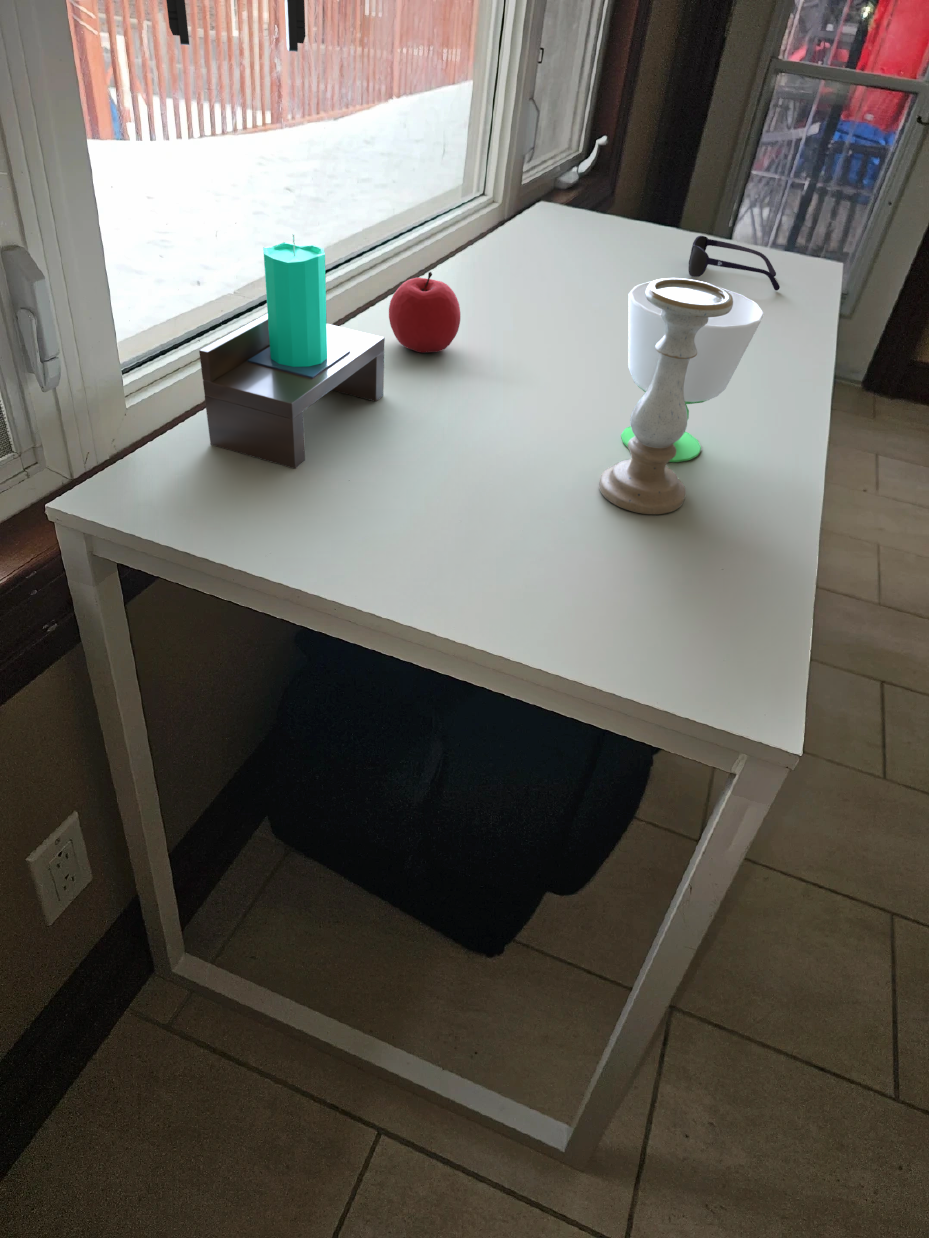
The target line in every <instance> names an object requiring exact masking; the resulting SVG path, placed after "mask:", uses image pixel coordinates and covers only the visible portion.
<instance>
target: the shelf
mask: <svg viewBox="0 0 929 1238" xmlns="http://www.w3.org/2000/svg"><path fill="white" fill-rule="evenodd" d="M198 353H199V363H200V368H201V375H202V376H201V377H202V386H203V394H204V401H205V402H204V403H205V410H206V411H205V413H206V419H207V427H208V436H209V443H210V445H211V446H214V447H218V448H221V449H225V450H229V451H232V452H235V453H239V454H242V455H245V456H249V457H252V458H257V459H260V460H263V461H266V462H270V463H274V464H277V465H280V466H284V467H288V468H290V469H297V468H298V467H299V466H301V465H302V464H303V463H304V462H306V445H305V443H306V442H305V422H304V421H305V420H304V411H305V410H307V409H308V408H310V407H311V406H312V405H314V404H315V403H316V402H317V401H319V400H320V399H321V398H323V397H324V396H326V395H327V394H329V392H331V391H334V392H337V393H341V394H345V395H348V396H349V395H350V396H352V397H357V398H360V399H364V400H368V401H372V402H378V401H379V400H380V399H381V398H382V397H384V389H385V387H384V386H385V385H384V384H385V383H384V382H385V337H384V336H381V335H376V334H372V333H368V332H363V331H360V330H355V329H351V328H347V327H342V326H338V325H334V324H330V323H327V359H326V360H325V361H323V362H322V363H321V364H317V365H313V366H309V367H292V366H287V365H282V364H279V363H277V362H275V361H274V360H272V359H271V355H270V341H269V326H268V312H266V313H265V314H263V315H262V316H260V317H258V318H256V319H254V320H253V321H251V322H249V323H246V324H245V325H243V326H241V327H239V328H237V329H236V330H234V331H232V332H231V333H228V334H227V335H225V336H223V337H221V338H220V339H217V340H215V341H214V342H212V343H210V344H208V345H206V346H204V347H202V348H201V349H199V351H198Z"/></svg>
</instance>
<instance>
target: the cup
mask: <svg viewBox="0 0 929 1238" xmlns="http://www.w3.org/2000/svg"><path fill="white" fill-rule="evenodd" d="M653 281H654V280H650V281H647V282H643V283H640V284H635V286H633V288H632V289H631V290H630V291H629V292H628V295H627V296H628V300H627V301H628V302H627V303H628V306H627V307H628V309H627V310H628V313H627V314H628V315H627V316H628V318H627V319H628V320H627V321H628V323H627V324H628V325H627V326H628V328H627V329H628V330H627V335H628V336H627V352H628V353H627V359H628V360H627V367H628V370H629V373H630V376H631V378H632V380H633V383H634V384H635V385H636V386H637V387H638V389H640V390H641V391H643V392H644V393H645V392H646V391H647V389H648V388H649V386H650V384H651V382H652V380H653V377H654V374H655V371H656V367H657V363H658V359H659V352H658V351H657V350H656V348H655V345H656V344H657V342H659V341H660V339H661V338H662V337H663V336H664V334H665V331H666V326H665V322H664V320H663V319H662V317H661V311H662V309H660V308H658V307H656V306H654V305H653V304H651V303H650V302H649V301H648V300H647V299H646V296H645V293H646V289H647V287H648V285H649V284H650V283H651V282H653ZM719 287H720V288H722V289H724V290H726V291H727V292H729V293H730V294H731V296H732V298H733V307H732V309H731V311H730V312H729V313H727V314H725V315H722V316H718V317H709V319H708V322H707V324H706V325H705V326H703V327H702V328H700V329H699V330H698V332H697V333H696V335H695V339H694V342H695V345H696V348H697V355H696V356H695V357H693V358H690V361H689V364H688V367H687V372H686V376H685V381H684V399H685V404H686V409H687V422H689V421H688V420H689V418H690V417H689V416H690V410H689V408H688V405H692V404H701V403H704V402H707V401H710V400H712V399H715V398H716V397H718V396H720V394H722V393H723V392H724V391H725V390H726V389H727V387H728V385H729V383H730V381H731V379H732V377H733V375H734V374H735V371H736V370H737V368H738V366H739V364H740V362H741V361H742V358H743V356H744V354H745V352H746V351H747V349H748V347H749V345H750V343H751V341H752V340H753V337H754V335H755V333H756V332H757V330H758V328H759V327H760V324H761V322H762V320H763V318H764V315H765V312H764V311H763V310H762V308H761V307H760V306H759V304H758V303H757V302H756V301H754V300H753V299H751V298H748V296H747V297H746V296H745V295H743V294H742V293H739V292H735V291H732V290H729V289H727V288H724V287H721V286H719ZM633 437H635V435H634V433H633V431H632V429H631V425H629V426H628V427H626V428H624V429H623V431H622V432H621V434H620V438H621V440H622V444H623V445H624V446H626V447H627V448H628V442H629V440H630V439H631V438H633ZM673 444H674V446H675V447H676V455H675V457H674V458H672V459H671V460H670V461H669V462H668V463H681V462H687V461H690V460H693V459H694V458H696V457H698V456H699V454H700V452H701V450H702V446H701V444H700V441H699V440H698V439H697V438H696V437H695V436H693V435H692V434H691V433H690V432H687V431H685V432H684V434H683V436H682V437H681V438H680V439H679V440H678V441H676V442H675V443H673Z"/></svg>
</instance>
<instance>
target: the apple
mask: <svg viewBox="0 0 929 1238" xmlns="http://www.w3.org/2000/svg"><path fill="white" fill-rule="evenodd" d="M432 276H433V273H432V271H428V276H427V278H426V277H425V278H424V277H413V278H410V279H407V280H405V281H404V282H403V283H402V284H401V285H399V287H398V288H397V289H396V290H395V292H393V295H392V297H391V299H390V301H389V306H388V320H389V325H390V327H391V330H392V333H393V335H394V337H395V339H396V340H397V341H398V342H399V343H400V344H401V346H403V347H405V348H406V349H409V350H412V351H414V352H416V353H420V354H422V353H423V354H424V353H439V352H441V351H443V350H445V349H447V348H448V347H449V346H450V345H451V343H452V342H453V341H454V339H455V338H456V337H457V334H458V333H459V329H460V325H461V307H460V303H459V300H458V297H457V296H456V293H455V292H454V290H453V289H452V288H451V287H450V285H449V284H447V283H446V282H443V281H441V280H437V279H432V278H431V277H432Z"/></svg>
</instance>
